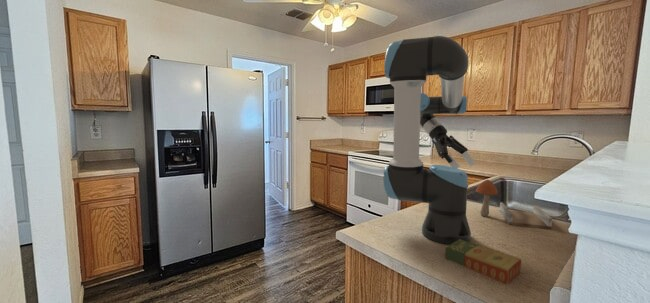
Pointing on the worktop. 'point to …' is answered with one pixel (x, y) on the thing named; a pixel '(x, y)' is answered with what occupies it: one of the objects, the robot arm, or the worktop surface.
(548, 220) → the track
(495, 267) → the carton
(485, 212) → the mushroom
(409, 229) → the worktop surface
